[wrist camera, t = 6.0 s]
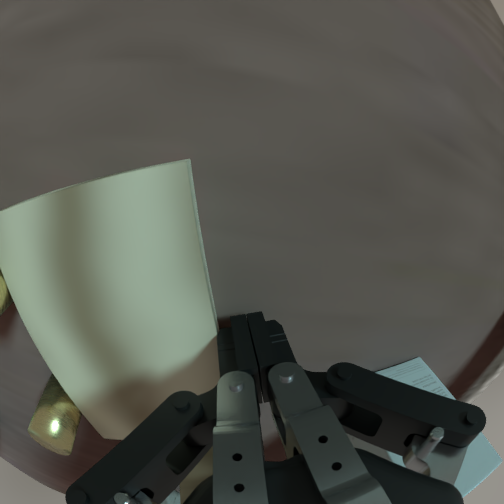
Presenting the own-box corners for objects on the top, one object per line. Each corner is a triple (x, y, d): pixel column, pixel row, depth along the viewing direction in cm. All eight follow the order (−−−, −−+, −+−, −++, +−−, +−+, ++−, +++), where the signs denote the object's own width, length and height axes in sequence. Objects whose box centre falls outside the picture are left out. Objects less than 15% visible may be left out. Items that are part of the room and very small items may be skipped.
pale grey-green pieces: (190, 158, 11) (186, 161, 9) (237, 405, 17) (242, 434, 15) (13, 204, 10) (-15, 217, 8) (109, 413, 16) (103, 438, 14)
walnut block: (239, 439, 18) (250, 502, 13) (246, 461, 20) (256, 513, 15) (179, 444, 18) (180, 506, 12) (194, 466, 20) (198, 518, 14)
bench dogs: (15, 240, 10) (-43, 284, 6) (94, 401, 15) (80, 458, 10) (-14, 249, 10) (-66, 289, 5) (63, 399, 14) (46, 450, 10)
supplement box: (326, 430, 20) (374, 545, 8) (345, 377, 17) (425, 525, 5) (394, 408, 21) (451, 502, 9) (422, 353, 18) (506, 460, 6)
